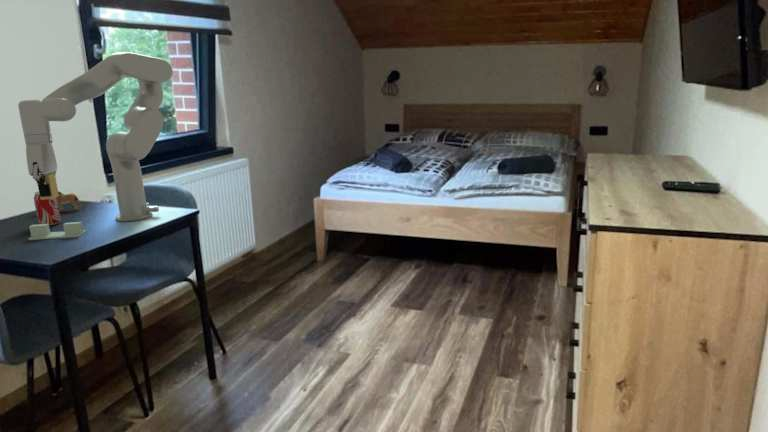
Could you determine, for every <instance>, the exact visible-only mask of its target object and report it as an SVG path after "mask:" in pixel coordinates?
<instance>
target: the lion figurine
mask: <svg viewBox="0 0 768 432" xmlns="http://www.w3.org/2000/svg"><path fill="white" fill-rule="evenodd" d="M58 194H59V196H58V197H56V198H57V203H58V208H59V212H61V211H62V210H63V207H64V206H63V204H68V203H70V204H72V206H74V208H73V209H74V210H76V211H80V210H81V207H82V208H83V209H86V208H87V206H84V205H82V203H81V201H80V199H79V197H78V196H77V195H76V193H72V192H71V193H68V194H64V193H62V192H61V191H58ZM79 205H80V206H79Z"/></svg>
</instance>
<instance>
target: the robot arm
mask: <svg viewBox="0 0 768 432" xmlns="http://www.w3.org/2000/svg"><path fill="white" fill-rule="evenodd" d="M173 72H174V71H173V67H172V65H171V64H170V63H169V61H167V60H165V59H163V58H161V57H155V56H149V55H144V54H139V53H134V52H128V51H125V52H124V51H123V52H115V53H111V54H110V55H108V56H107V57H105V58H104V59H102V60H101V61H100V62H98V63H97V64H96V65H94V66H93V67H91V68H90V69H89V70H87V71H85V72H84V73H83V74H81V75H79V76H77V77H75V78H73V79H72V80H70V81H69V82H67V83H65V84H63V85H62V86H60V87H58V88H57V89H55V90H54V91H52V92H51V93H49V94H48V95H46V96H45V97H44V98H42V99H28V100H27V99H26V100H21V101H19V102H18V106H17V107H18V111H19V118H20V122H21V128H22V133H23V138H24V141H25V148H26V149H25V154H26V164H27V169H28V171H27V172H28V175H29V176H31V177H32V179H33V180H34V181H35V182H36V184H37V189H38V188H39V189H38V191H39V193H40V196H41V197H48V196H51V192H50V187H49V184H47V174H50V173H55V178H56V173H57V169H58V164H57V159H56V154H55V150H54V146H53V136H52V132H51V125H50V122H63V123H64V122H69V121H70V120H72V119H73V118H74V117H75V116H76V113H77V107H76V105H79V104H81V103H83V102H85V101H88V100H92V99H95V98H98V97H100V96H102V95H104V94H105V93H107V92H108V91H109V90H111V88H113V87H114V86H116V85H117V84H118V83H119V82H121V81H122V80H123V79H125V78H127V79H128V78H132V79H136V80H137V82H138V90H139V91H138V92H137V95H136V97H135V99H134V100H133V102H132V104H131V105H130V108H128V110H127V112H126V114H125V115H124V118H123V124H124V126H125V128H126V129H127V130H128V131H127V132H126V131H117V132H116V131H115V132H114V133H112V134H110V135H109V136H108V137H107V139H106V143H105V148H106V149H105V150H106V153H107V156H108V159H109V161H110V165H111V170H112V177H113V182H114V186H115V187H114V188H115V194H116V199H117V206H118V212H119V213H118V214H117V215H115V220H116V221H118V222H135V221H141V220H145V219H147V218H150V217H152V216H153V213H157V212H159V211H160V209H159V208H160V207H159V206H158V205H152V206H151V205H150V203H149V202H147V200H146V193H145V188H144V187H145V186H144V181H143V173H142V168H141V164H140V160H143V159H144V158H146V156H147V155H148V154H149V153H150V152H151V150H152V148H153V146H154V145H155V143H156V142H157V139H158V138H159V136H160V135H161V132H162V131H163V127H164V117H163V114H162V113H161V111H160V110H159V109H160V108H161V105H162V103H163V99H164V91H163V86H162V84H164V83H167V82H169V81H170V80H171V79H172V77H173V74H174V73H173ZM41 173H42V174H43V175H39V174H41ZM42 177H43V178H44V179H43V178H42ZM56 179H57V178H56Z"/></svg>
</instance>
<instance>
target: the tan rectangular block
mask: <svg viewBox="0 0 768 432" xmlns="http://www.w3.org/2000/svg"><path fill="white" fill-rule="evenodd" d="M39 175H43V174H42V173H40V174H39ZM55 177H56V175H55V173H50V174H47V184H49V187H50V192H51V196H48V197H41V196H40V199H41V200H43V199H54V198H56V197H58V196H59V194H58V190H59V189H58V184H57V178H55ZM42 178H43V177H42ZM43 179H44V178H43ZM37 189H38V190H39V188H38V187H37ZM39 194H40V193H39Z"/></svg>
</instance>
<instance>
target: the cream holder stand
mask: <svg viewBox="0 0 768 432" xmlns="http://www.w3.org/2000/svg"><path fill="white" fill-rule="evenodd" d="M83 225H84V224H83V222H82V221H75V222H65V223H63V224H62V226H63V231H51V229H50V226H49V224H39V223H38V224H31V225H30V226H28V227H29V231H30V237H28V241H37V240H53V239H67V238H80V237H81V236H83V235H84V234H85V233H86V232H87V229H84V226H83Z"/></svg>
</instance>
